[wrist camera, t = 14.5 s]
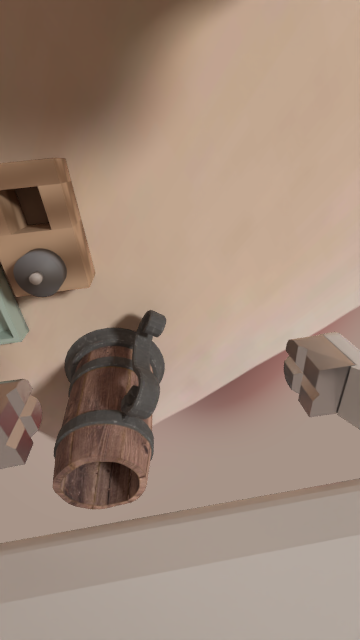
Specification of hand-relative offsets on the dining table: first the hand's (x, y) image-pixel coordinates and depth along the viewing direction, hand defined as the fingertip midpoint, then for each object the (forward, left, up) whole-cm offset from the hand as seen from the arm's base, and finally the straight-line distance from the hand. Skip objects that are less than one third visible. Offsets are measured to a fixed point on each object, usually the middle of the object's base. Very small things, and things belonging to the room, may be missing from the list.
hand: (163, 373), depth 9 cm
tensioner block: (0, -13, -31) cm, 34 cm away
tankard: (+22, -7, -31) cm, 39 cm away
